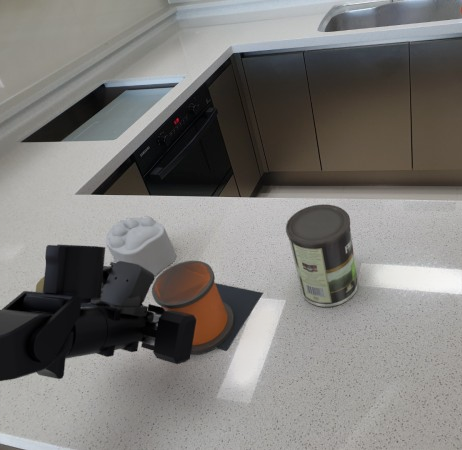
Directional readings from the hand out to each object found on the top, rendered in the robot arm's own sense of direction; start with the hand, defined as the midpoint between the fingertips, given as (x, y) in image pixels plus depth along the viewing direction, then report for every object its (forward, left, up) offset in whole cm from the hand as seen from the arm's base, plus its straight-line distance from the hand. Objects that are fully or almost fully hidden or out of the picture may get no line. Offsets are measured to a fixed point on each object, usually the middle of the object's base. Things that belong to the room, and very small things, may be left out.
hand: (172, 320), depth 70 cm
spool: (+4, +2, -7) cm, 9 cm away
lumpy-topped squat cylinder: (+6, +28, -8) cm, 30 cm away
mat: (+8, +4, -7) cm, 11 cm away
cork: (-11, +22, -8) cm, 26 cm away
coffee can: (+25, -8, -8) cm, 27 cm away
